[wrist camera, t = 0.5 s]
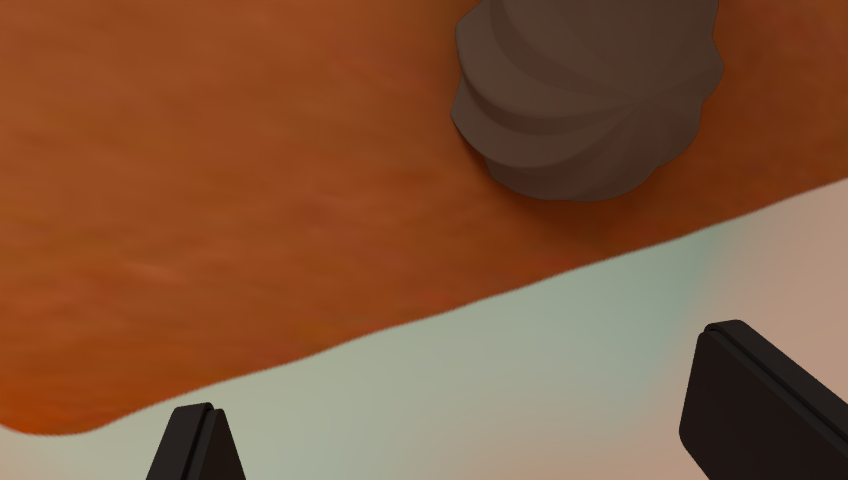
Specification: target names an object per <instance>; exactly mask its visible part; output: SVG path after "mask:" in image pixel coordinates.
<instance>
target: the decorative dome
mask: <svg viewBox="0 0 848 480" xmlns="http://www.w3.org/2000/svg"><path fill="white" fill-rule="evenodd" d="M718 4H719V2H718V0H483V1H482V2H481V3H479V4H478V5H477V6H476V7H475V8H473V9H472V10H471V11H470V12H469V13H468V14H466V15H465V16H464V17H463V18H462V19H460V20H459V22H458V23H457V25H456V28H455V38H456V46H457V51H458V56H459V60H460V63H461V66H462V76H461V79H460V83H459V86H458V89H457V92H456V96H455V99H454V102H453V106H452V109H451V112H450V116H451V118H452V120H453V122H454V123H455V125H456V127H457V128H458V130H459V131H460V132H461V134H462V135H463V137H464V138H465V139H466V140H467V141H468V142H469V144H470V145H471V146H472V147H473V148H474V149H476V150H477V151H478V152H479V153H480V154H482V155H483V156H484V158H485V161H486V164H487V167H488V171H489V174H490V176H491V177H492V178H493V179H495V180H496V181H497V182H499V183H501V184H502V185H504V186H505V187H507V188H509V189H511V190H513V191H515V192H517V193H520V194H522V195H525V196H528V197H532V198H536V199H542V200H569V201H579V202H591V201H601V200H607V199H611V198H615V197H618V196H620V195H623V194H625V193H627V192H629V191H631V190H633V189H634V188H636V187H637V186H639V185H640V184H641V183H643V182H644V181H645V180H646V179H647V178H648V177H649V176H650V175H651V174H652V172H653V171H654V169H655V168H657V167H660V166H662V165H664V164H666V163H667V162H669V161H671V160H673V159H674V158H676V157H677V156H678V155H680V154H681V153H682V152H683V151H684V150H685V149H686V148H687V147H688V146H689V145H690V144H691V142H692V141H693V140H694V138H695V136H696V134H697V132H698V129H699V123H700V115H701V108H702V104H703V103H704V101H705V100H706V99H707V98H708V97H709V96H710V95H711V93H712V92H713V91H714V90H715V88H716V87H717V85H718V84H719V82H720V80H721V77H722V75H723V70H724V65H723V61H722V59H721V57H720V55H719V53H718V51H717V48H716V46H715V44H714V42H713V39H712V34H713V28H714V23H715V18H716V14H717V10H718Z"/></svg>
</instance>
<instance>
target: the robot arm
mask: <svg viewBox="0 0 848 480" xmlns="http://www.w3.org/2000/svg"><path fill="white" fill-rule="evenodd" d="M679 435H680V439H681V442H682V444H683V446H684V447H685V448H686V450H687V451H688V453H689V454H690V455H691V456H692V458H693V459H694V460H695V461H696V463H697V464H698V466H699V467H700V468H701V469H702V471H703V472H704V473H705V475H706V476H707V477H708V478H709V480H848V404H847V403H846V402H844V401H843V400H842V399H841V398H839V397H838V396H837V395H836V394H834V393H833V392H832V391H831V390H829V389H828V388H826V387H825V386H824V385H823V384H822V383H820V382H819V381H818V380H817V379H815V378H814V377H813V376H812V375H810V374H809V373H808V372H807V371H805V370H804V369H803V368H802V367H800V366H799V365H797V364H796V363H795V362H794V361H793V360H791V359H790V358H789V357H788V356H786V355H785V354H784V353H783V352H781V351H780V350H779V349H778V348H776V347H775V346H774V345H773V344H771V343H770V342H769V341H767V340H766V339H765V338H764V337H763V336H761V335H760V334H759V333H757V332H756V331H755V330H754V329H752V328H751V327H750V326H749V325H747V324H746V323H745V322H743V321H741V320H730V321H723V322H717V323H711V324H708V325H707V326H706V327H705V329H704V332H702V333H701V334H700V335H699V336H698V340H697V344H696V349H695V354H694V359H693V364H692V368H691V373H690V378H689V383H688V388H687V392H686V397H685V402H684V407H683V412H682V417H681V421H680V427H679ZM146 480H246V478H245V475H244V472H243V468H242V465H241V462H240V459H239V456H238V453H237V450H236V447H235V444H234V440H233V437H232V434H231V431H230V428H229V425H228V422H227V418H226V415H225V413H224V410H222V409H215V410H214V407H213V405H212V404H211V403H209V402H206V403H200V404H194V405H188V406H181V407H177V408H175V409H174V411H173V413H172V415H171V417H170V420H169V422H168V425H167V427H166V430H165V432H164V435H163V437H162V440H161V442H160V445H159V447H158V450H157V452H156V455H155V457H154V460H153V462H152V465H151V467H150V470H149V472H148V475H147V478H146Z"/></svg>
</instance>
